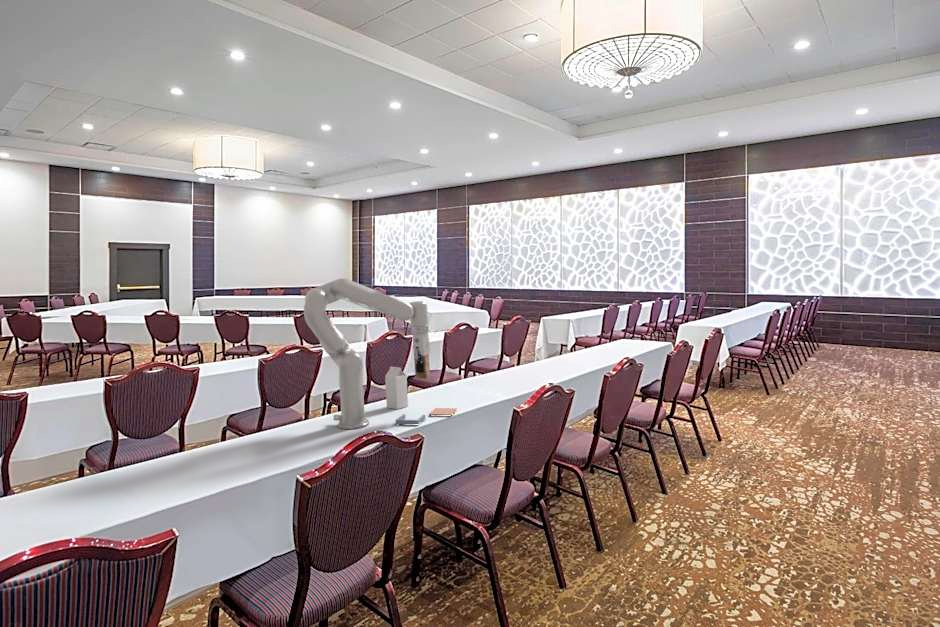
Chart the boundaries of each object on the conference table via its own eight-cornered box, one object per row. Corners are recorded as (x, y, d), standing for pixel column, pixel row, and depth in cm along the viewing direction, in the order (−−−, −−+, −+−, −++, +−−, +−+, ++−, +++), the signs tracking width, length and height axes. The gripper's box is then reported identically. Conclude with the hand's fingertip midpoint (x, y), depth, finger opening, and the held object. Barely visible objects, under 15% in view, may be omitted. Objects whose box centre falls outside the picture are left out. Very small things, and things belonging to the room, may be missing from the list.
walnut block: (415, 378, 234) (414, 355, 233) (419, 376, 239) (417, 353, 238) (426, 378, 233) (425, 355, 232) (430, 376, 238) (428, 353, 237)
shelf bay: (395, 424, 224) (395, 420, 223) (403, 418, 232) (403, 414, 232) (418, 425, 221) (418, 420, 221) (425, 419, 230) (425, 414, 230)
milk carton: (397, 409, 248) (395, 369, 247) (386, 407, 252) (384, 367, 251) (408, 406, 254) (406, 366, 252) (397, 404, 258) (395, 365, 257)
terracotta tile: (429, 416, 235) (428, 413, 235) (435, 410, 245) (435, 408, 244) (451, 416, 233) (451, 414, 232) (456, 410, 242) (456, 408, 242)
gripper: (421, 332, 225) (424, 375, 227) (433, 327, 242) (436, 367, 243) (405, 332, 227) (407, 375, 228) (417, 327, 243) (420, 367, 245)
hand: (422, 370), depth 236 cm, fingers closed on walnut block, 5 cm apart
